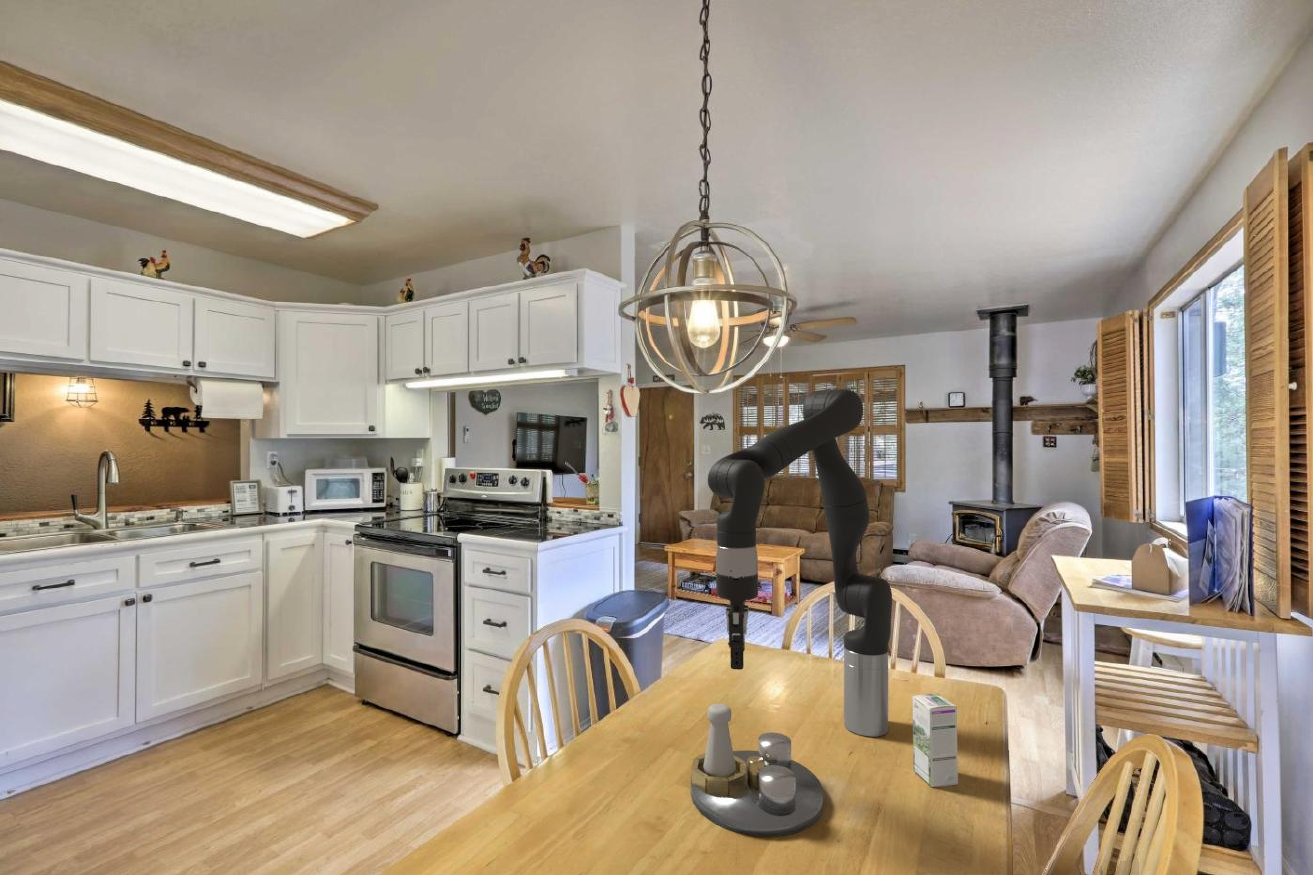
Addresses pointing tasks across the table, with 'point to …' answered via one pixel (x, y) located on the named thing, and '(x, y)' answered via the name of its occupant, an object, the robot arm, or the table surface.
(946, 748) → the syrup box
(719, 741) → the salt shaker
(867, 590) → the robot arm
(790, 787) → the carrier
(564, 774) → the table surface
